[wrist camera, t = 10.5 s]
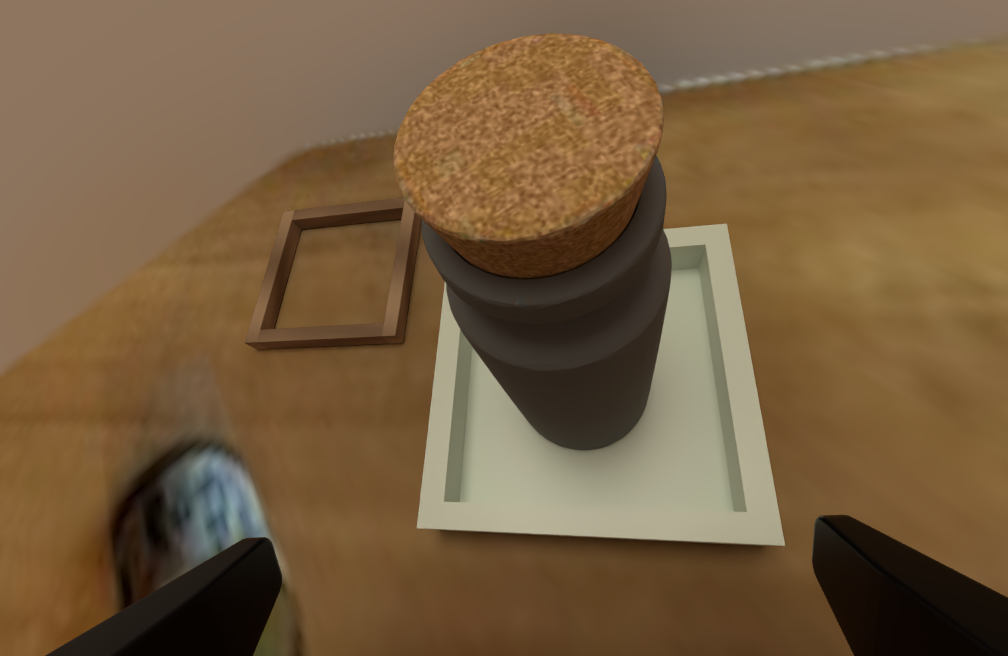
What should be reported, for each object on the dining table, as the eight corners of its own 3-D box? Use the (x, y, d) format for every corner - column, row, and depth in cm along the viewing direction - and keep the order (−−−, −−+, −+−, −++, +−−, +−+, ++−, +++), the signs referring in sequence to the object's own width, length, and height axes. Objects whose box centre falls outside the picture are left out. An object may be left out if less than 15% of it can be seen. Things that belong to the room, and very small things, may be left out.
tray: (764, 546, 18) (784, 545, 16) (438, 530, 21) (416, 528, 18) (716, 254, 23) (726, 223, 21) (463, 273, 26) (448, 248, 24)
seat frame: (403, 343, 25) (395, 335, 24) (257, 349, 27) (244, 342, 26) (423, 206, 29) (416, 195, 28) (293, 221, 31) (284, 211, 30)
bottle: (510, 342, 23) (360, 64, 10) (630, 315, 22) (646, -27, 9) (529, 463, 20) (361, 310, 7) (665, 438, 20) (763, 214, 6)
